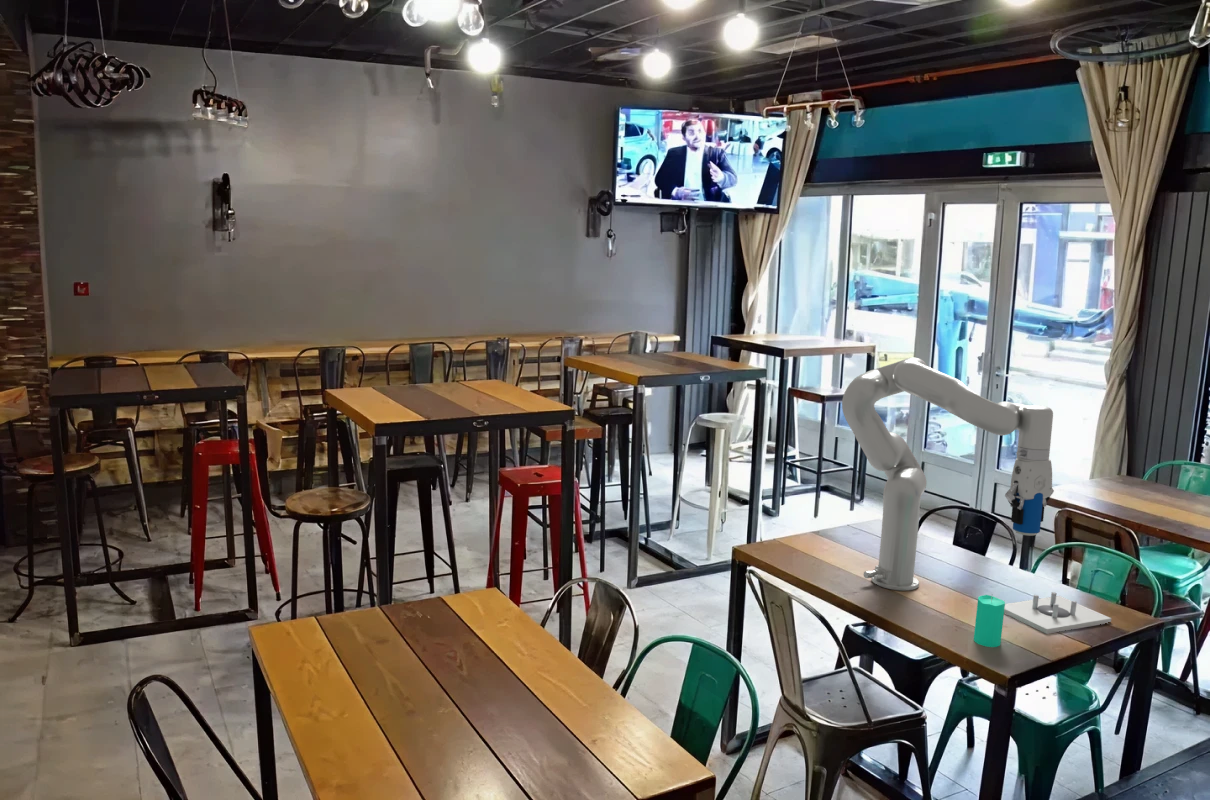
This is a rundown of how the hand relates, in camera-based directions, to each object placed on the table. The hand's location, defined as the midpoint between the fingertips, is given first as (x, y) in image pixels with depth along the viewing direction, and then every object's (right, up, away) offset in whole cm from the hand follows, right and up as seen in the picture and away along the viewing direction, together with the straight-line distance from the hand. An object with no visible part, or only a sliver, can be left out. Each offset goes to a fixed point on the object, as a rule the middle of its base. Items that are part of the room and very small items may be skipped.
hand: (1027, 521), depth 244 cm
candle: (-18, -26, -20) cm, 38 cm away
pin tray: (+6, -24, -2) cm, 25 cm away
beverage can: (0, -3, +1) cm, 3 cm away
